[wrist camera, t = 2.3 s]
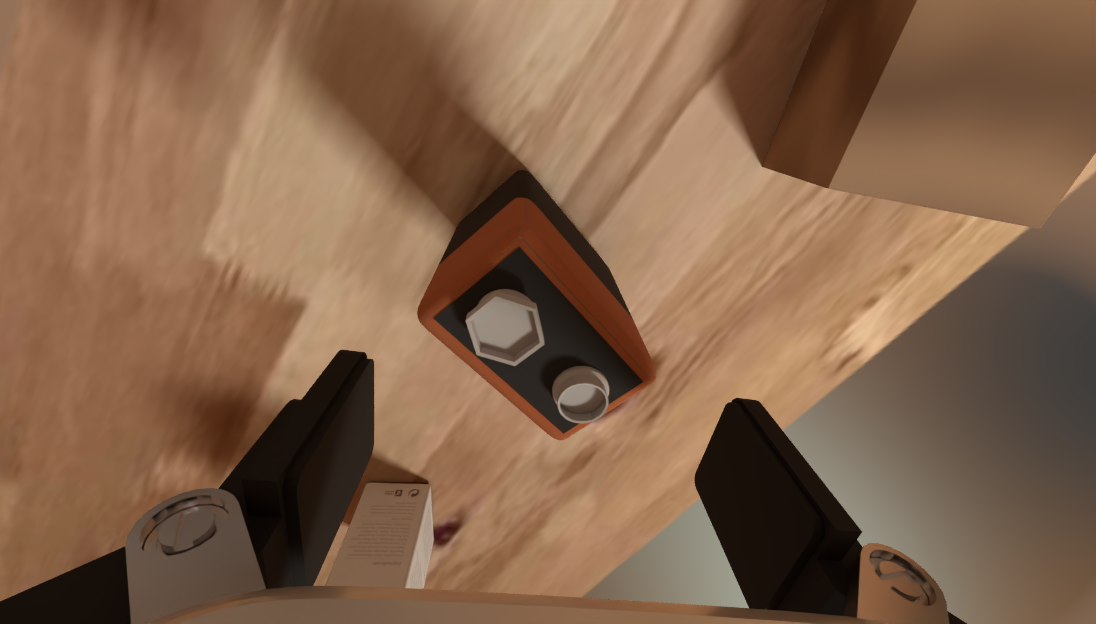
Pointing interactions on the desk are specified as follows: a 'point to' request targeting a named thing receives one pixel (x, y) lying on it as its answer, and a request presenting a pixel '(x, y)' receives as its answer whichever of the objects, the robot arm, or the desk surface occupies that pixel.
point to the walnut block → (946, 104)
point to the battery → (536, 311)
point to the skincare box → (387, 538)
